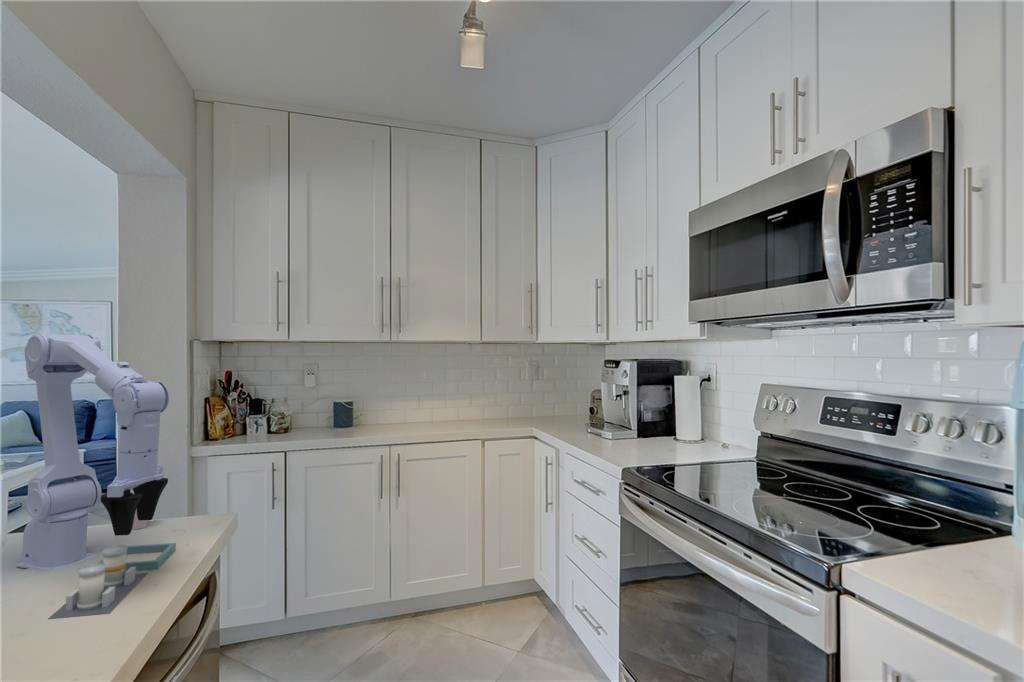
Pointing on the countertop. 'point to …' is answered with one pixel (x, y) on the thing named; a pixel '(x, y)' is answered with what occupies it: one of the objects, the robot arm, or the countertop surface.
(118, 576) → the marked fuse
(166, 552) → the tray
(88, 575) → the cylinder
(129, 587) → the fuse board
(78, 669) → the countertop surface
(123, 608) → the countertop surface
